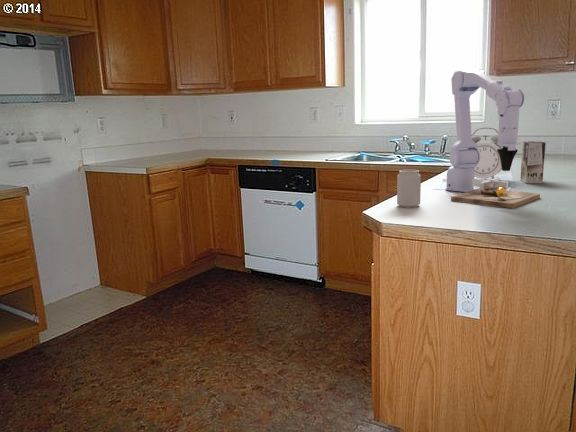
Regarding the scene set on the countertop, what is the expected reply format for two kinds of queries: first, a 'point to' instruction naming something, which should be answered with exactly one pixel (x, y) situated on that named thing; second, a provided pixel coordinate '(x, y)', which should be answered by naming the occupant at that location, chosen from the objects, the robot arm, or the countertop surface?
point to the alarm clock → (487, 156)
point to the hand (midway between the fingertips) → (505, 170)
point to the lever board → (496, 198)
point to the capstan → (491, 186)
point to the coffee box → (532, 161)
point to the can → (408, 188)
